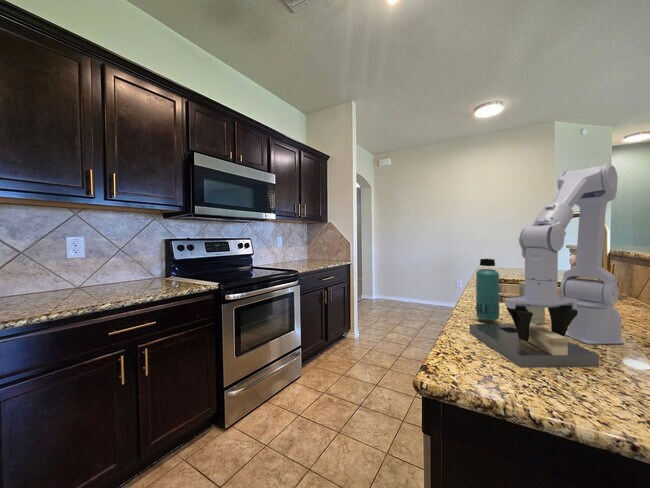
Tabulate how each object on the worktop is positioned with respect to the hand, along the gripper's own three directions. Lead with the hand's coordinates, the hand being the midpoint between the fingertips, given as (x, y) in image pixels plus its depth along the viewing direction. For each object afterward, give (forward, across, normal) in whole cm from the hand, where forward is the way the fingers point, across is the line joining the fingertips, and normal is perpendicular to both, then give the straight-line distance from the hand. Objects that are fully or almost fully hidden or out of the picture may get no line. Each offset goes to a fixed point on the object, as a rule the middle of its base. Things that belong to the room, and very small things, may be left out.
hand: (540, 339), depth 60 cm
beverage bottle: (+4, -3, -24) cm, 25 cm away
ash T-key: (+4, 0, 0) cm, 4 cm away
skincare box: (+4, -16, -24) cm, 29 cm away
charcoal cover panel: (+4, 0, -5) cm, 6 cm away
